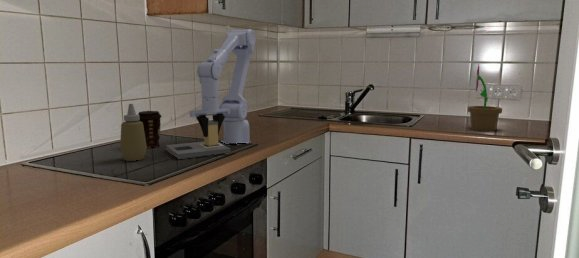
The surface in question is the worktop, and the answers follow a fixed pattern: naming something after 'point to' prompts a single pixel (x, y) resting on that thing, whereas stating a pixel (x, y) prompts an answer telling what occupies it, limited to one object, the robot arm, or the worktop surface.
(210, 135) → the plug
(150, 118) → the coffee cup
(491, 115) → the flowerpot
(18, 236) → the worktop surface
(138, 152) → the squeeze bottle
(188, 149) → the socket panel
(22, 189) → the worktop surface
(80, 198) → the worktop surface
